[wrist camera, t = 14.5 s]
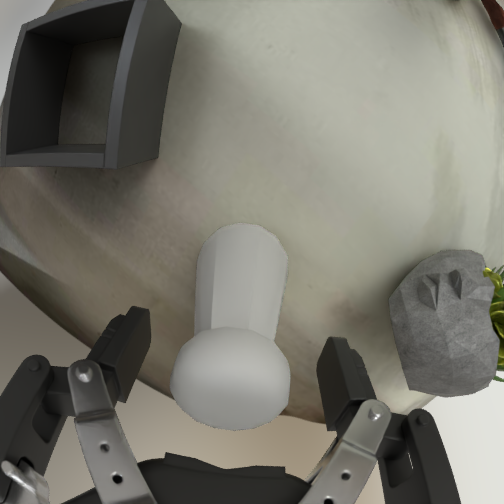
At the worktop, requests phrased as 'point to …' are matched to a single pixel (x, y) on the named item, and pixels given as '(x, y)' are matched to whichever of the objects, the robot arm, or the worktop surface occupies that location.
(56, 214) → the worktop surface
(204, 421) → the salt shaker
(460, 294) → the potted plant
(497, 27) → the knife
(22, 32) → the holder
